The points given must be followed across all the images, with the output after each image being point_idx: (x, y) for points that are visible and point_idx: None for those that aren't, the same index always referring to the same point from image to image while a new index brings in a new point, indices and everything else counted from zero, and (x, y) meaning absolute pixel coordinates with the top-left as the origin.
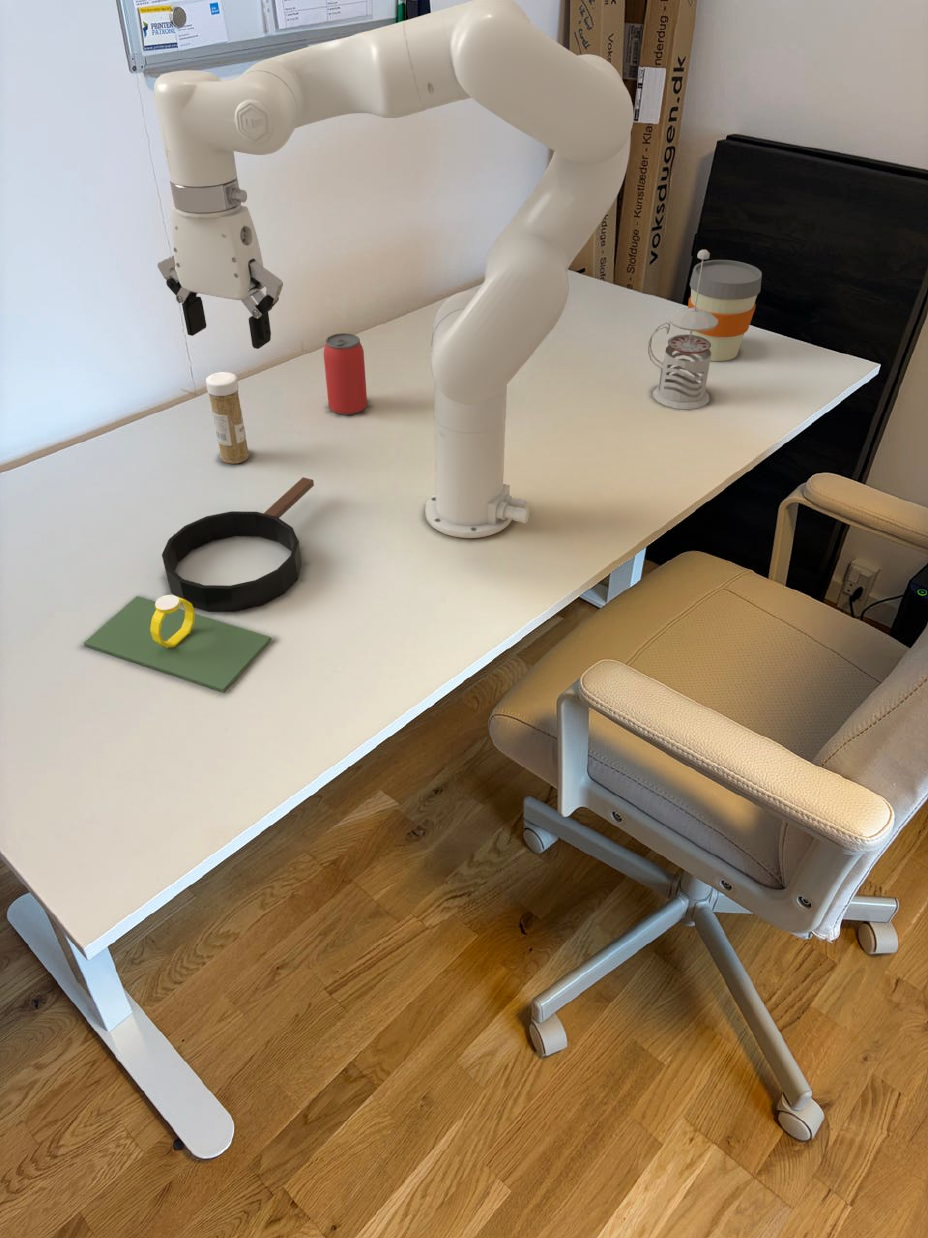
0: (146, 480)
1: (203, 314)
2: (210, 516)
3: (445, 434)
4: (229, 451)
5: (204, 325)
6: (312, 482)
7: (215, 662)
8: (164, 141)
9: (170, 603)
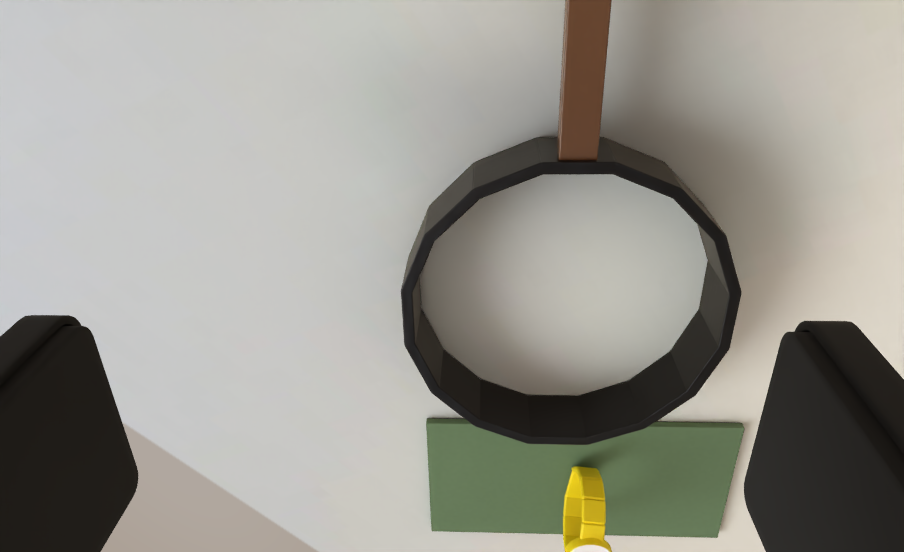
0: (55, 34)
1: (10, 420)
2: (434, 232)
3: None
4: None
5: (79, 356)
6: None
7: (674, 502)
8: None
9: None
